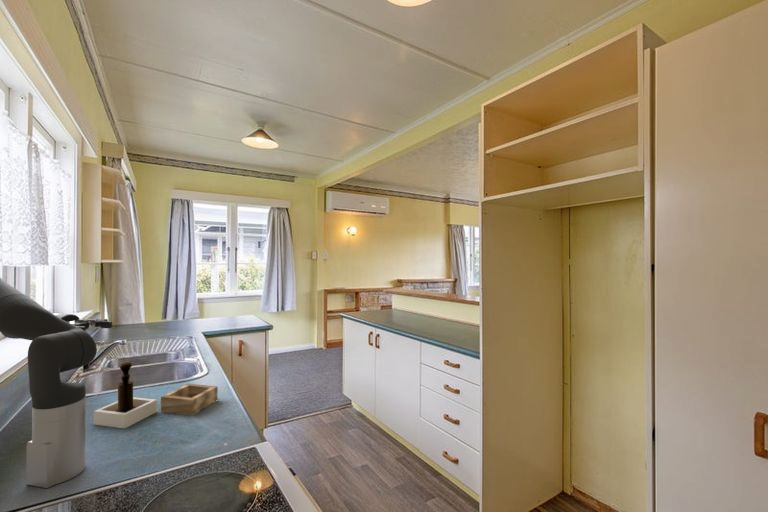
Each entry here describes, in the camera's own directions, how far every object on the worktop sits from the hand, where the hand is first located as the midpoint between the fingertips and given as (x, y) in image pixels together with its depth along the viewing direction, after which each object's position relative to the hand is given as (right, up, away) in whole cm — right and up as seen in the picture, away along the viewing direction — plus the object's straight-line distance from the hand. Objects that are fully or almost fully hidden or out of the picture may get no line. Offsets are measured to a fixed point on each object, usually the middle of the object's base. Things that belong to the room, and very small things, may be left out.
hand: (98, 327), depth 114 cm
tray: (+11, -28, -2) cm, 30 cm away
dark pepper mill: (+10, -28, -2) cm, 30 cm away
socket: (+26, -28, +7) cm, 39 cm away
